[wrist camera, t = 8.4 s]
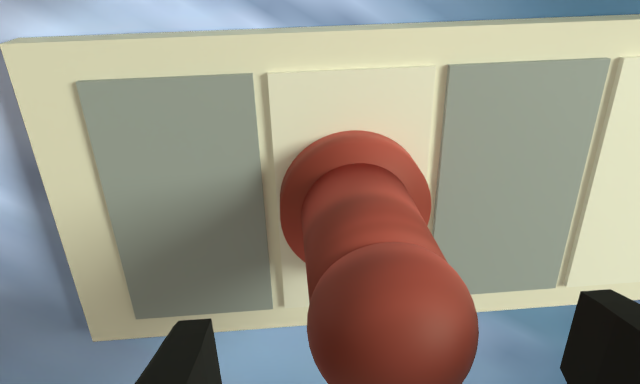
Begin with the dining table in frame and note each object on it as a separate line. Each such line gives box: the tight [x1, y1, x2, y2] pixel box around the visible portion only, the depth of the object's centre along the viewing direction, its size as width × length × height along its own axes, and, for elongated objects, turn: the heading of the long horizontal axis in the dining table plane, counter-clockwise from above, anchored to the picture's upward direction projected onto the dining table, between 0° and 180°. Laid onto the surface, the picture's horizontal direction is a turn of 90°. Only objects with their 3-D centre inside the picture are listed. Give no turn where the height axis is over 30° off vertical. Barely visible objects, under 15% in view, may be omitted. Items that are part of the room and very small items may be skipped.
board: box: [0, 14, 640, 342], centre depth 16 cm, size 10×28×1 cm, turn 91°
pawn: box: [280, 130, 479, 384], centre depth 11 cm, size 4×4×7 cm
